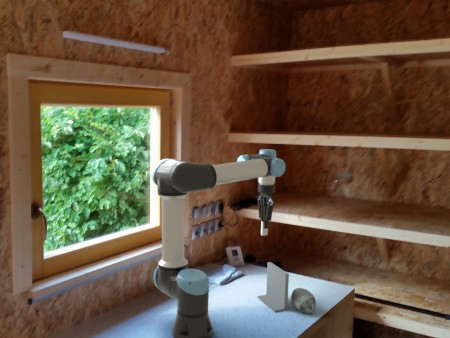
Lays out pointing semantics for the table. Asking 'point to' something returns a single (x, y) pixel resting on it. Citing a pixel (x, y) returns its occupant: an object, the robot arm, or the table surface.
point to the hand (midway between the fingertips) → (264, 234)
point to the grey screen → (276, 288)
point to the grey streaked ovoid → (303, 300)
